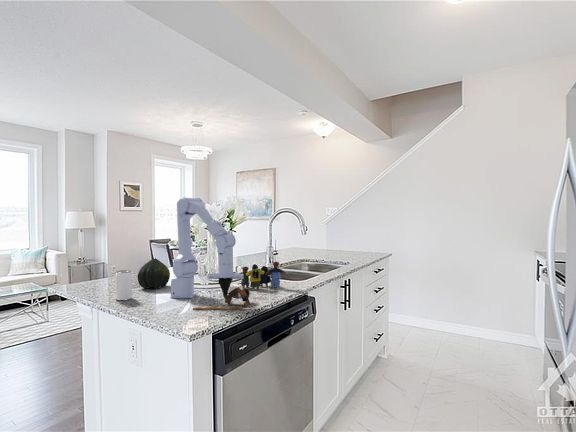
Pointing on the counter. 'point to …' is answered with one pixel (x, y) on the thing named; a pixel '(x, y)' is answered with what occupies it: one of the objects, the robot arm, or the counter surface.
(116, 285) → the can
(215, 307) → the counting strip
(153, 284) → the squash
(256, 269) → the doll family
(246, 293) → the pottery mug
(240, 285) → the die
